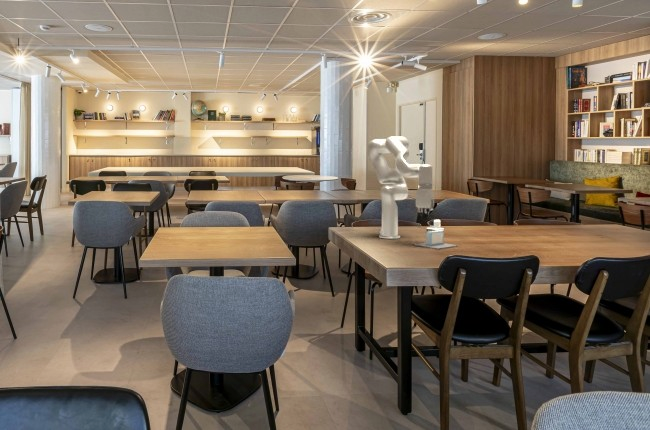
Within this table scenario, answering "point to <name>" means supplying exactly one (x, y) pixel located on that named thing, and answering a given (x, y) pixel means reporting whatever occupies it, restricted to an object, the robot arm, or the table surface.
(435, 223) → the medicine bottle
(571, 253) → the table surface
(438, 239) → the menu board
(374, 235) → the table surface
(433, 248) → the mat
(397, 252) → the table surface
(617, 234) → the table surface
